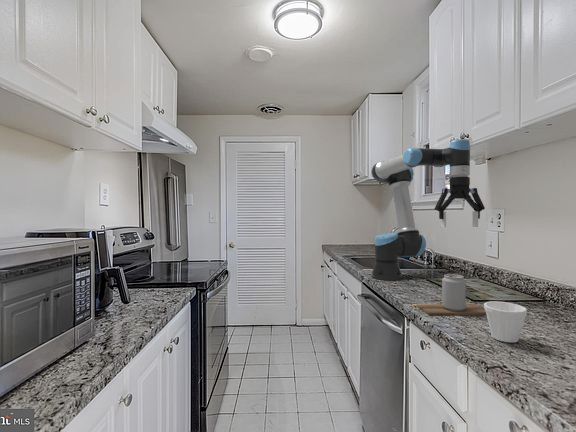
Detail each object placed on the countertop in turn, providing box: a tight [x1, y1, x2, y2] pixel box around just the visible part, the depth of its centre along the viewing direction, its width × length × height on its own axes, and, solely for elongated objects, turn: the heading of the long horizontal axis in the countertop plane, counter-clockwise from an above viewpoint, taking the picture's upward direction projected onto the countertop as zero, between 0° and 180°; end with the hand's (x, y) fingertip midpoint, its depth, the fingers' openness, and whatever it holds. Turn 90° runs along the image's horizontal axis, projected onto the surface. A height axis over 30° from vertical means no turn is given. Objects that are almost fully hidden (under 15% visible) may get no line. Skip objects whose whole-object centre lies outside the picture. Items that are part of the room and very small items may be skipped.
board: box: [416, 303, 487, 317], centre depth 114 cm, size 10×22×1 cm, turn 91°
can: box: [441, 273, 467, 311], centre depth 113 cm, size 8×8×12 cm
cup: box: [483, 300, 528, 344], centre depth 89 cm, size 10×10×9 cm
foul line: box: [411, 302, 476, 307], centre depth 120 cm, size 1×24×1 cm, turn 91°
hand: (459, 227), depth 134 cm, fingers open, 13 cm apart
